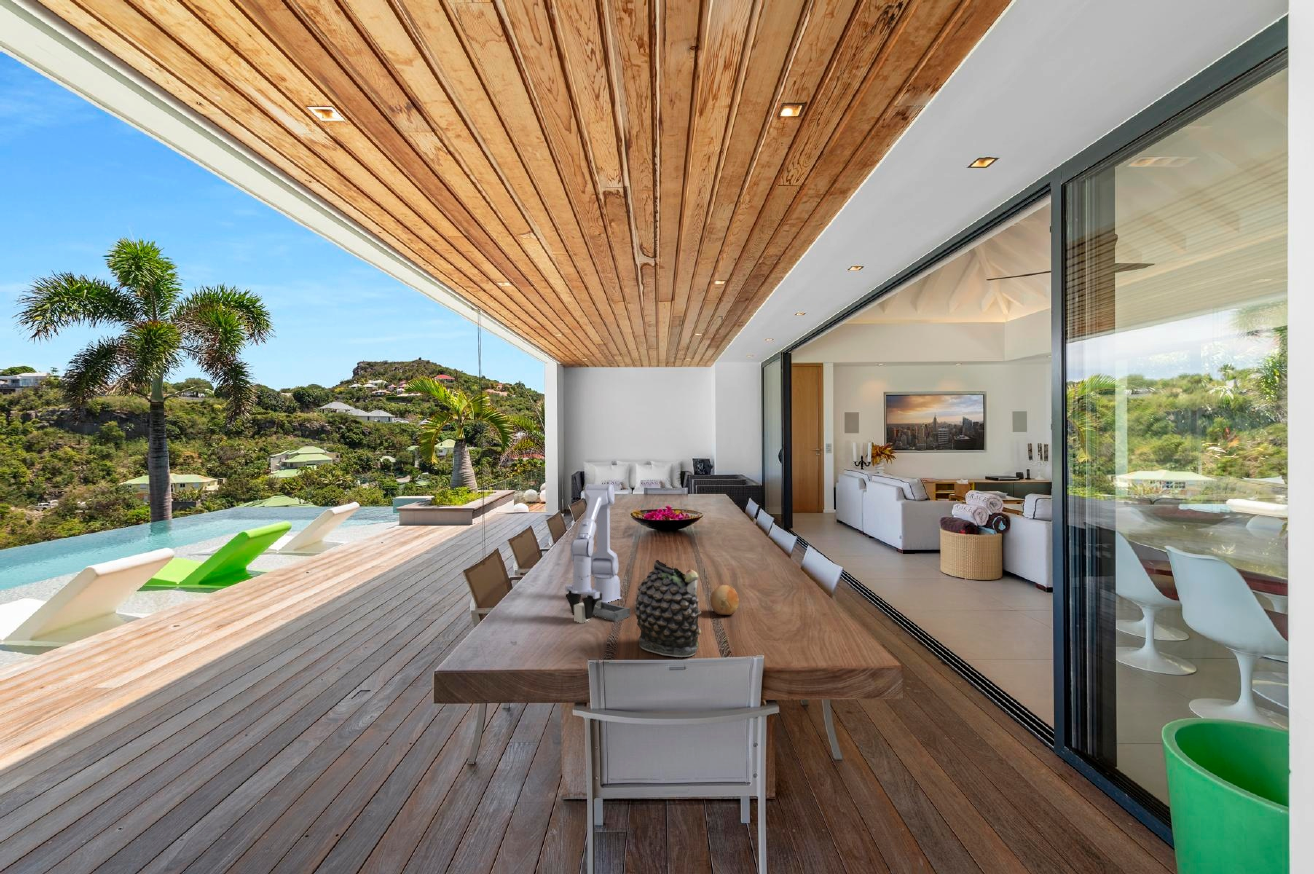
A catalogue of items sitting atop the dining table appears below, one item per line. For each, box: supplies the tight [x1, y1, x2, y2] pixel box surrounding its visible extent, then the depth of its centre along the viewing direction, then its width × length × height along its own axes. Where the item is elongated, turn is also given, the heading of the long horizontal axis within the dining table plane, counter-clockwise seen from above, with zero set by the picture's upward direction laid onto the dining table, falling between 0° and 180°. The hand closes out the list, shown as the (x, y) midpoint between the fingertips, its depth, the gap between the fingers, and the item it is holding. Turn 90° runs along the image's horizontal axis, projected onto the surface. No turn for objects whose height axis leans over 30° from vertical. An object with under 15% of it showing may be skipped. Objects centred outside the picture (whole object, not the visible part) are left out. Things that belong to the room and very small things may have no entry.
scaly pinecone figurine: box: [633, 559, 702, 658], centre depth 168 cm, size 21×15×25 cm
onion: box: [709, 584, 740, 616], centre depth 201 cm, size 10×10×10 cm
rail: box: [585, 591, 631, 623], centre depth 201 cm, size 7×16×7 cm, turn 50°
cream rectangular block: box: [573, 602, 591, 624], centre depth 194 cm, size 4×4×5 cm
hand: (582, 616), depth 194 cm, fingers open, 6 cm apart
